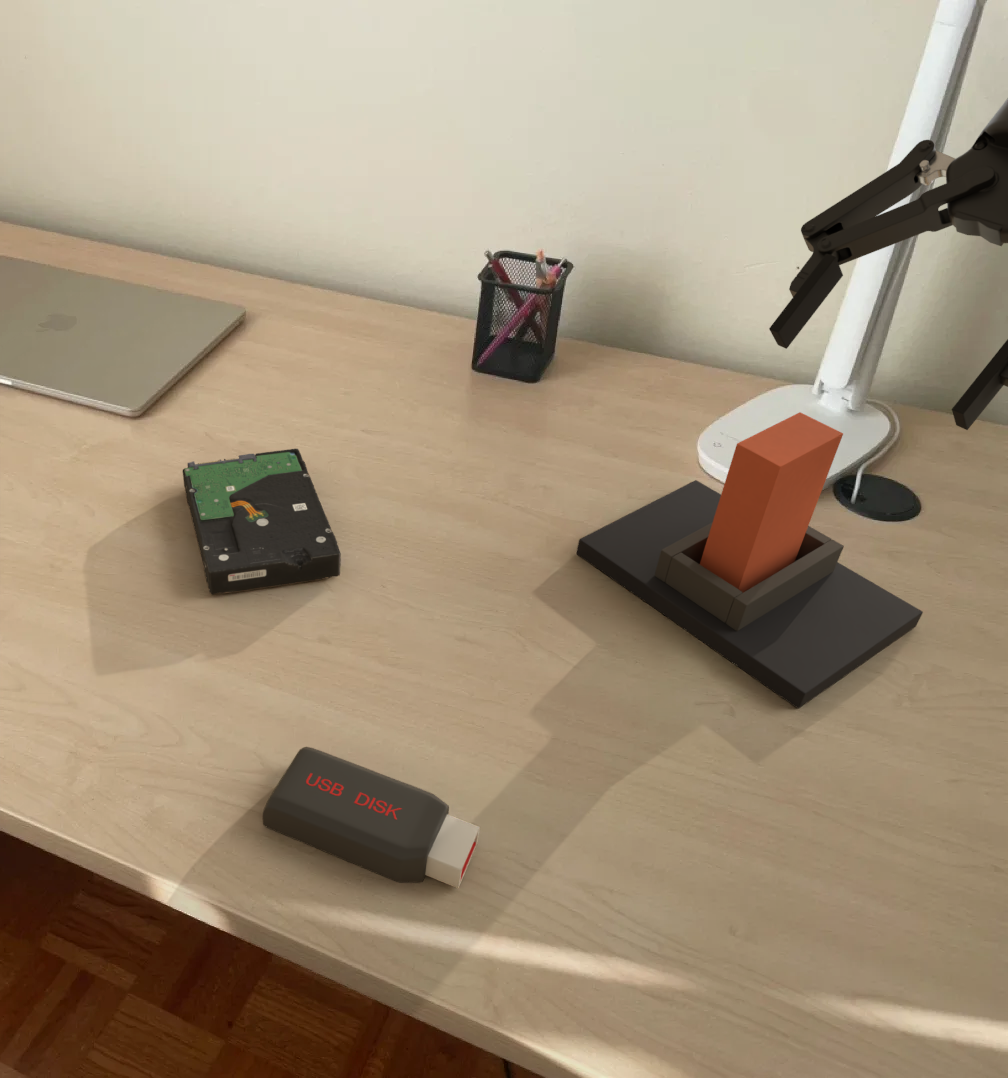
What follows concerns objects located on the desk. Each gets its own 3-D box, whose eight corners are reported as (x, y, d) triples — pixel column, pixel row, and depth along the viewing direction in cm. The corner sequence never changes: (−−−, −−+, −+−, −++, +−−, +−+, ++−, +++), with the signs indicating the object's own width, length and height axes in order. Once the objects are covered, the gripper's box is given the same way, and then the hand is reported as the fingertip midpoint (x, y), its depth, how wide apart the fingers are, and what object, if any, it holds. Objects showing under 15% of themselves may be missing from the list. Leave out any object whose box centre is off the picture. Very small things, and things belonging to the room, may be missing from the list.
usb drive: (300, 764, 67) (300, 735, 65) (481, 834, 63) (486, 805, 61) (262, 825, 63) (261, 796, 62) (451, 904, 59) (456, 876, 57)
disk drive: (343, 580, 81) (298, 471, 92) (344, 552, 79) (298, 444, 91) (210, 601, 79) (180, 487, 91) (208, 573, 78) (178, 460, 89)
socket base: (916, 626, 77) (936, 585, 74) (798, 709, 70) (816, 667, 68) (691, 493, 90) (703, 454, 87) (575, 553, 83) (584, 513, 81)
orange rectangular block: (792, 567, 80) (843, 433, 72) (733, 603, 77) (780, 466, 69) (754, 544, 82) (800, 411, 74) (694, 578, 79) (736, 443, 71)
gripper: (1282, 200, 65) (1052, 480, 68) (901, 102, 81) (727, 332, 84) (1299, 128, 60) (1047, 437, 62) (885, 38, 76) (699, 286, 78)
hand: (862, 377), depth 73 cm, fingers open, 13 cm apart
